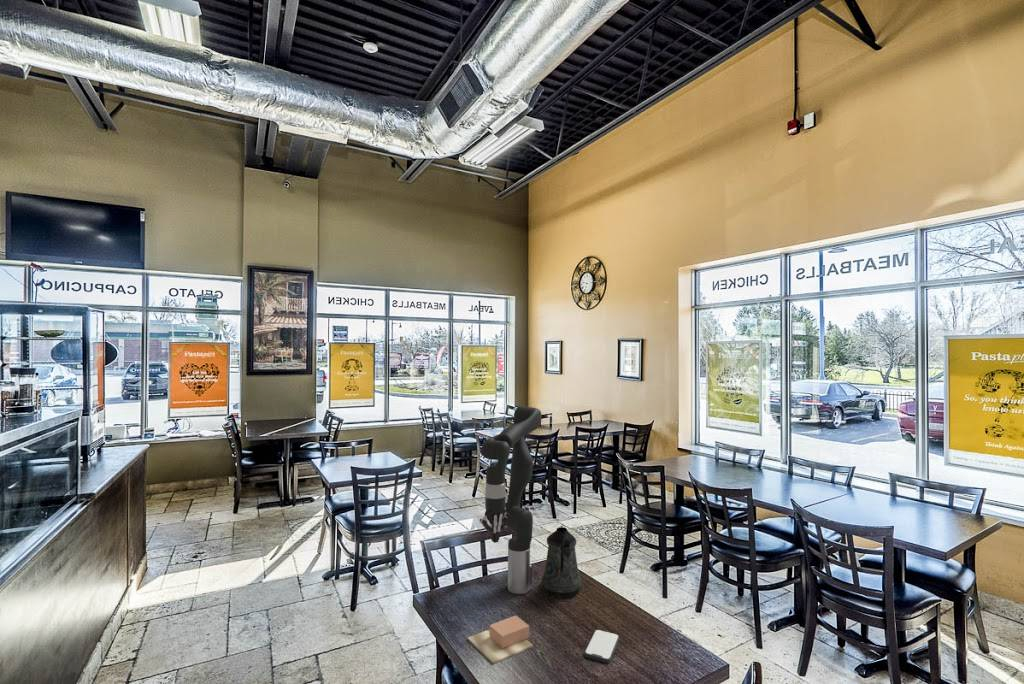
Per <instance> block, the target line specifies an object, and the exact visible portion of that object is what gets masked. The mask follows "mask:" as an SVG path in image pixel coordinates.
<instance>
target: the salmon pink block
mask: <svg viewBox="0 0 1024 684" xmlns="http://www.w3.org/2000/svg"><path fill="white" fill-rule="evenodd" d="M489 629H490V638H491V639H493V640H494V641H495V642H496V643H497V644H498V645H499V646H500V647H501V648H502V649H503V648H505V647H508V646H510V645H513V644H515V643H517V642H520V641H522V640H525V639H526V640H528V639H530V625H528V623H526V622H525V621H524V620H522V619H521V618H520V617H519V616H517V615H513V616H510V617H508V618H504V619H502V620H500V621H497V622H494V623H491V624H490V625H489Z"/></svg>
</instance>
